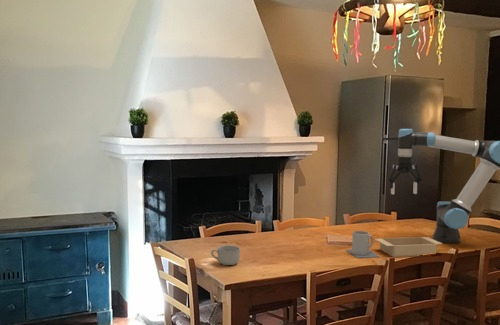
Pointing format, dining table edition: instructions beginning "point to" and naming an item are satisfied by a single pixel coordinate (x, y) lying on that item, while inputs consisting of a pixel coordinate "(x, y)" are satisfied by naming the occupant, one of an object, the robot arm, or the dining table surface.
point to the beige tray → (408, 246)
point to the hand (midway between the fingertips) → (403, 193)
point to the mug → (361, 242)
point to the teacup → (227, 254)
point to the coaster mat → (370, 255)
